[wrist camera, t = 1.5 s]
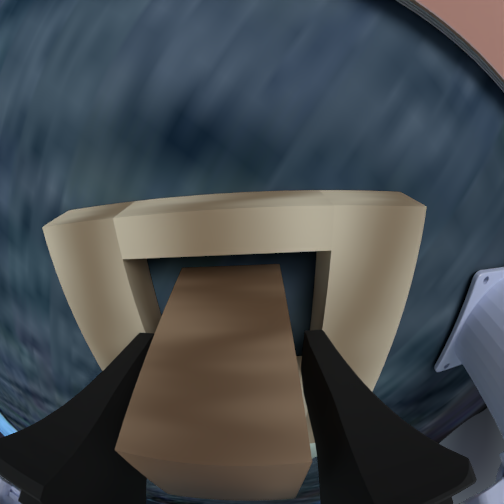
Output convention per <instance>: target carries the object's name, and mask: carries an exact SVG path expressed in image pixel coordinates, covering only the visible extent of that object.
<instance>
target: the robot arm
mask: <svg viewBox="0 0 504 504" xmlns="http://www.w3.org/2000/svg"><path fill="white" fill-rule="evenodd" d="M153 337H154V333H139V334H138V335H137V336H136V337H135V338H134V339H133V340H132V341H131V342H130V343H129V344H128V345H127V346H126V347H125V348H124V349H123V350H122V352H121V353H120V354H119V355H118V356H117V357H116V358H115V359H114V360H113V361H112V362H111V363H110V364H109V365H108V366H107V367H106V368H105V369H104V370H103V371H102V372H101V373H100V374H99V375H98V376H97V377H96V378H95V379H94V380H93V381H92V382H91V383H90V384H89V385H88V386H86V387H85V388H84V389H83V390H82V391H81V392H80V393H78V394H77V395H76V396H75V397H74V398H72V399H71V400H70V401H68V402H67V403H66V404H65V405H63V406H62V407H60V408H59V409H57V410H56V411H54V412H53V413H51V414H50V415H48V416H47V417H45V418H44V419H42V420H40V421H38V422H36V423H35V424H33V425H31V426H29V427H27V428H25V429H23V430H20V431H18V432H16V433H13V434H10V435H8V436H5V437H3V438H0V475H1V476H2V477H4V478H5V479H6V480H5V479H4V478H2V477H1V476H0V504H146V480H147V478H146V477H145V476H144V475H143V474H141V473H140V472H139V471H138V470H137V469H135V468H134V467H133V466H132V465H131V464H130V463H128V462H127V461H126V460H125V459H124V458H123V457H122V456H121V455H120V454H118V453H117V452H116V451H115V447H116V443H117V440H118V437H119V433H120V430H121V427H122V424H123V421H124V418H125V415H126V412H127V409H128V406H129V403H130V400H131V397H132V394H133V391H134V388H135V385H136V382H137V380H138V377H139V374H140V371H141V368H142V366H143V363H144V360H145V358H146V355H147V352H148V350H149V347H150V344H151V342H152V339H153ZM461 364H463V366H464V368H465V369H466V371H467V372H468V374H469V376H470V377H471V379H472V381H473V382H474V384H475V386H476V387H477V389H478V391H479V392H480V394H481V396H482V398H483V400H484V401H485V403H486V405H487V407H488V409H489V410H490V412H491V414H492V416H493V418H494V420H495V422H496V424H497V426H498V428H499V430H500V432H501V434H502V436H503V439H504V267H500V268H493V269H486V270H480V271H478V272H476V273H475V275H474V276H473V279H472V282H471V285H470V287H469V290H468V293H467V296H466V298H465V301H464V304H463V306H462V309H461V311H460V314H459V316H458V318H457V321H456V323H455V325H454V328H453V330H452V332H451V334H450V336H449V338H448V341H447V343H446V345H445V347H444V349H443V351H442V353H441V355H440V357H439V358H438V360H437V362H436V364H435V366H434V369H435V371H436V372H441V371H444V370H447V369H450V368H453V367H455V366H458V365H461ZM301 376H302V384H303V393H304V397H305V401H306V406H307V410H308V414H309V419H310V423H311V427H312V432H313V436H314V440H315V446H316V451H317V460H318V471H319V483H320V499H321V504H453V500H452V496H453V495H455V494H457V493H459V492H461V491H462V490H464V489H466V488H468V487H469V486H471V485H472V484H474V483H475V482H476V477H475V474H474V471H473V468H472V466H471V463H470V461H469V459H468V458H467V457H465V456H462V455H460V454H458V453H456V452H454V451H452V450H449V449H447V448H445V447H443V446H442V445H440V444H438V443H437V442H435V441H433V440H431V439H430V438H428V437H427V436H425V435H424V434H422V433H421V432H419V431H418V430H416V429H415V428H414V427H412V426H411V425H409V424H408V423H407V422H405V421H404V420H403V419H401V418H400V417H399V416H398V415H397V414H395V413H394V412H393V411H392V410H391V409H390V408H389V407H387V406H386V405H385V404H384V403H383V402H382V401H381V400H380V399H379V398H378V397H377V396H376V395H375V394H374V393H373V392H372V391H371V390H370V389H369V388H368V387H367V386H366V385H365V384H364V382H363V381H362V380H361V379H360V378H359V377H358V376H357V374H356V373H355V372H354V371H353V370H352V368H351V367H350V366H349V365H348V364H347V362H346V361H345V360H344V358H343V357H342V356H341V354H340V353H339V352H338V350H337V349H336V348H335V346H334V345H333V344H332V342H331V341H330V339H329V338H328V336H327V335H326V333H325V332H324V331H323V330H322V329H320V330H308V331H305V333H304V343H303V352H302V361H301ZM499 456H500V458H501V461H502V463H501V465H500V467H499V469H498V473H497V476H496V481H495V483H494V484H492V485H491V486H489V487H488V488H486V489H485V490H483V491H481V492H480V493H477V494H475V495H473V496H472V497H470V498H468V499H466V500H465V501H463V502H461V503H460V504H504V451H503V452H502V453H500V455H499ZM7 480H8V481H7Z"/></svg>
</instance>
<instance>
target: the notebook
mask: <svg viewBox="0 0 504 504" xmlns="http://www.w3.org/2000/svg"><path fill="white" fill-rule="evenodd" d="M396 1H397V2H399V3H401V4H402V5H404V6H405V7H407V8H409V9H410V10H412V11H413V12H415V13H416V14H418V15H419V16H421V17H422V18H423V19H425V20H426V21H428V22H429V23H430V24H432V25H433V26H434V27H436V28H437V29H438V30H440V31H441V32H442V33H443V34H445V35H446V36H447V37H448V38H449V39H451V40H452V41H453V42H454V43H455V44H457V45H458V46H459V47H460V48H461V49H462V50H463V51H464V52H466V53H467V54H468V55H469V56H470V57H471V58H472V59H473V60H474V61H475V62H476V63H477V64H478V65H479V66H480V67H481V68H482V69H483V70H484V71H485V72H486V73H487V74H488V75H489V76H490V77H491V78H492V79H493V81H494V82H495V83H496V84H497V85H498V86H499V87H500V89H501V90H502V91H503V92H504V0H396Z"/></svg>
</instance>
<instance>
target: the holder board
mask: <svg viewBox="0 0 504 504" xmlns="http://www.w3.org/2000/svg"><path fill="white" fill-rule="evenodd" d="M426 208H427V207H426V206H424V205H423V204H421V203H419V202H418V201H416V200H414V199H412V198H410V197H409V196H407V195H405V194H403V193H401V192H390V191H355V190H300V191H264V192H241V193H224V194H208V195H195V196H183V197H172V198H161V199H151V200H142V201H133V202H125V203H117V204H109V205H102V206H95V207H88V208H81V209H75V210H69V211H67V212H65V213H64V214H62V215H61V216H59V217H57V218H56V219H54V220H53V221H51V222H49V223H48V224H46V225H45V226H43V227H42V228H43V232H44V235H45V239H46V242H47V245H48V249H49V252H50V255H51V258H52V261H53V264H54V267H55V270H56V273H57V275H58V278H59V281H60V283H61V286H62V289H63V291H64V294H65V296H66V299H67V301H68V303H69V306H70V308H71V310H72V313H73V315H74V317H75V319H76V321H77V323H78V326H79V328H80V330H81V332H82V334H83V336H84V338H85V340H86V342H87V344H88V346H89V348H90V349H91V351H92V353H93V355H94V357H95V359H96V361H97V362H98V364H99V366H100V368H101V369H102V371H103V370H104V369H105V368H106V367H107V366H108V365H109V364H110V363H111V362H112V361H113V360H114V359H115V358H116V357H117V356H118V355H119V354H120V353H121V352H122V350H123V349H124V348H125V347H126V346H127V345H128V344H129V343H130V342H131V341H132V340H133V339H134V338H135V337H136V336H137V335H138V334H139V333H154V334H155V332H156V329H157V327H158V324H159V322H160V319H161V317H162V316H161V313H160V309H159V306H158V302H157V298H156V295H155V291H154V287H153V283H152V279H151V275H150V271H149V267H148V263H147V258H167V257H191V256H215V255H239V254H262V253H286V252H308V251H317V254H316V269H315V282H314V294H313V305H312V315H311V325H310V330H320V329H322V330H323V331H324V332H325V333H326V335H327V336H328V338H329V339H330V341H331V342H332V344H333V345H334V346H335V348H336V349H337V350H338V352H339V353H340V354H341V356H342V357H343V358H344V360H345V361H346V362H347V364H348V365H349V366H350V367H351V368H352V370H353V371H354V372H355V373H356V374H357V376H358V377H359V378H360V379H361V380H362V381H363V382H364V384H365V385H366V386H367V387H368V388H369V389H370V390H371V391H373V389H374V387H375V384H376V382H377V380H378V378H379V375H380V373H381V371H382V368H383V366H384V363H385V361H386V358H387V356H388V353H389V351H390V348H391V345H392V342H393V340H394V337H395V334H396V331H397V328H398V325H399V322H400V319H401V316H402V313H403V310H404V307H405V303H406V300H407V296H408V293H409V289H410V286H411V282H412V278H413V274H414V270H415V266H416V261H417V257H418V252H419V248H420V243H421V238H422V232H423V227H424V221H425V214H426ZM296 359H297V365H298V371H299V377H300V383H301V389H302V396H303V402H304V408H305V415H306V422H307V428H308V435H309V442H310V443H315V440H314V436H313V432H312V427H311V423H310V419H309V414H308V410H307V406H306V401H305V397H304V393H303V384H302V376H301V361H302V356H296Z"/></svg>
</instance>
